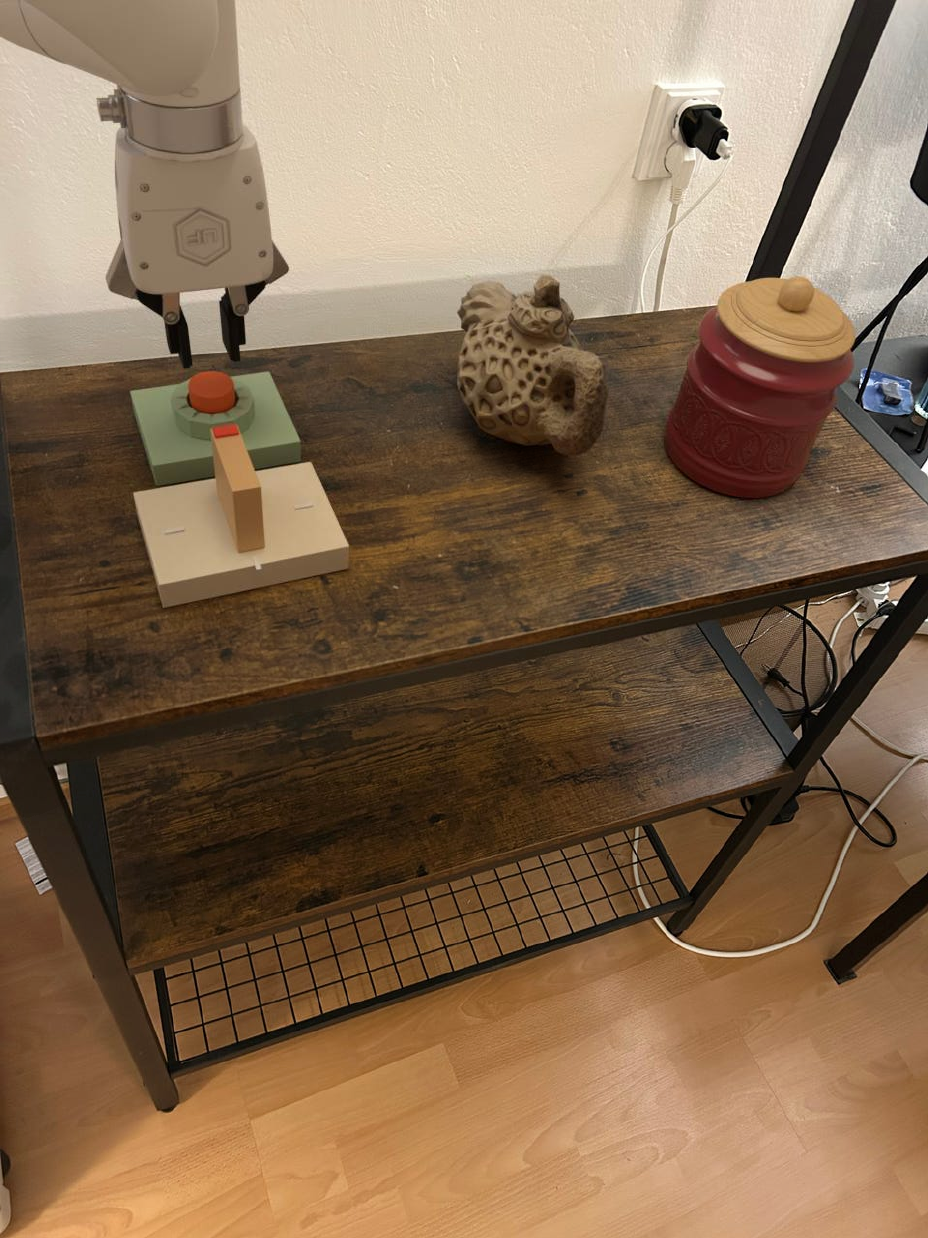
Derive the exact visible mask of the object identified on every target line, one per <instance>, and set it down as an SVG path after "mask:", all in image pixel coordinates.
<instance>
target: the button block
mask: <svg viewBox="0 0 928 1238" xmlns="http://www.w3.org/2000/svg"><path fill="white" fill-rule="evenodd" d="M229 377H230V378H231V379H232V380H233V383H234V393H235V404H234V406H233V407H232V408H231V409H230V410H228V411H227V412H225V413H218V414H205V413H200V412H198V411H196V410H195V409H194V408H193V407H192V405H191V403H190V395H189V387H188V384H189V381H190V379H191V378H192V377H191V378H189V379H186V380H185V381H183V382H181V383H177V384H176V383H175V384H169V385H163V386H161V385H160V386H156V387H148V388H141V389H134V390H130V391H129V393H130V398H131V404H132V409H133V415H134V417H135V421H136V423H137V427H138V430H139V434H140V437H141V440H142V444H143V447H144V450H145V454H146V457H147V462H148V464H149V467H150V470H151V474H152V477H153V479H154V480H153V481H154V484H155V486H156V487H162V486H167V485H171V484H177V483H178V484H179V483H185V482H189V481H197V480H201V479H202V480H203V479H209V478H215V470H214V461H213V451H212V442H211V433H210V429H212V428H213V427H219V426H226V425H232V424H236V425H238V428H239V431H240V433H241V436H242V438H243V441H244V444H245V446H246V449H247V451H248V454H249V457H250V459H251V462H252V465H253V467H254V470H260V469H264V468H271V467H276V466H282V465H288V464H296V463H301V462H302V444H301V443H302V441H301V439H300V436H299V434H298V432H297V430H296V428H295V426H294V423H293V421H292V419H291V417H290V415H289V412H288V411H287V408H286V406H285V403H284V402H283V399H282V397H281V395H280V392H279V390H278V388H277V386H276V383H275V381H274V379H273V377H272V374H271V372H270V371H261V372H255V373H247V374H241V375H233V376H229Z"/></svg>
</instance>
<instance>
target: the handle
mask: <svg viewBox="0 0 928 1238" xmlns="http://www.w3.org/2000/svg"><path fill="white" fill-rule="evenodd" d="M210 433H211V442H212V451H213V461H214V470H215V476H214V478H215V479H216V488H217V492H218V495H219V498H220V501H221V504H222V507H223V510H224V513H225V516H226V519H227V522H228V525H229V528H230V531H231V533H232V536H233V539H234V542H235V545H236V548H237V551H238V552H244V551H249V550H254V549H259V548H264V547H265V542H264V526H263V510H262V495H261V485H260V483H259V480H258V478H257V475H256V472H255V471H256V469H254V467H253V465H252V462H251V459H250V457H249V454H248V451H247V449H246V446H245V444H244V441H243V438H242V436H241V433H240V431H239V428H238V425H236V424H232V425H226V426H219V427H213V428H212V429H210Z"/></svg>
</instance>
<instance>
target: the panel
mask: <svg viewBox="0 0 928 1238" xmlns="http://www.w3.org/2000/svg"><path fill="white" fill-rule="evenodd" d="M255 472H256V475H257V478H258V480H259V483H260V485H261V495H262V510H263V526H264V542H265V547H264V548H259V549H254V550H249V551H244V552H238V551H237V548H236V545H235V542H234V539H233V536H232V533H231V531H230V528H229V525H228V522H227V519H226V516H225V513H224V510H223V507H222V504H221V501H220V498H219V495H218V492H217V488H216V479H215V477H213V478H208V479H204V480H203V479H202V480H198V481H197V480H196V481H191V482H187V483H181V484H174V485H169V486H163V487H157V488H152V489H147V490H139V491H134V492H133V493H132V494H133V499H134V500H133V501H134V505H135V510H136V515H137V519H138V522H139V527H140V530H141V533H142V537H143V541H144V544H145V549H146V551H147V555H148V558H149V562H150V566H151V569H152V573H153V576H154V581H155V584H156V587H157V591H158V595H159V598H160V603H161V605H162V608H163V609H165V608H170V607H174V606H175V607H176V606H179V605H185V604H188V603H193V602H197V601H198V602H199V601H203V600H207V599H208V600H209V599H212V598H217V597H221V596H226V595H230V594H231V595H232V594H235V593H240V592H246V591H251V590H255V589H259V588H260V589H261V588H264V587H267V586H273V585H277V584H283V583H287V582H292V581H297V580H301V579H306V578H311V577H316V576H320V575H324V574H329V573H335V572H338V571H344V570H348V569H349V566H350V564H349V562H350V545H349V542H348V540H347V538H346V536H345V534H344V532H343V531H344V530H342V527H341V525H340V522H339V520H338V518H337V516H336V514H335V511H334V510H333V507H332V505H331V503H330V501H329V499H328V495H327V494H326V492H325V489H324V487H323V485H322V483H321V481H320V478H319V476H318V474H317V471H316V469H315V468H314V465H313V463H312V461H307V462H300V463H294V464H290V465H284V466H278V467H273V468H267V469H261V470H255Z"/></svg>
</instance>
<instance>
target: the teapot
mask: <svg viewBox="0 0 928 1238" xmlns="http://www.w3.org/2000/svg"><path fill="white" fill-rule="evenodd" d="M560 285H561V284H560V282H559V281H557V280H556V279H555V278H554V277H552V276H551V275H549V274H541V275H540V276H539V277H538V278H537V279H536V282H535V284H534V285H533V291H531V290H529V291H524V292H519V293H518V294H517V295H516V294H515V293H514V292H512V291H510V290H508V289H506V288H505V286H504V284H503V283H502V282H498V281H495V280H494V281H493V280H487V281H483V282H478V283H475V284H473V285H471V287H470V289H469V290H468V291H466V295H464V296H463V297H461V300H460V301H461V304H460V307H459V308H458V309H457V311H456V313H457V315H458V318H459V319H460V321H461V323H460V329H461V330H463V331H465V332H466V333H465V335H464V337H463V340H462V344H461V348H460V351H459V354H458V363H457V375H456V377H457V378H456V385H457V389H458V393H459V395H460V398H461V400H462V402H463V404H464V405H465V407H466V408H467V410H468V411H469V413H470V414H471V416H472V417H473V419H474V420H475V422H476V424H477V425H478V428H479V429H480V430H482V431H484V432H485V433H487V434H489V435H491V436H494V437H496V438H500V439H502V440H504V441H506V442H508V443H515V444H518V445H521V446H525V447H530V446H535V445H536V446H537V445H538V446H545V445H550V444H551V445H552V447H553V448H554V450H555V451H556V452H558V453H559V454H561V455H566V456H578V455H583V454H586V453H587V452H589V450H590V449H591V448H593V446H594V445H595V444H596V442H598V439H599V438H600V437H601V435H602V432H603V428H604V425H605V414H606V406H607V401H608V396H609V387H608V384H607V381H606V369H607V368H606V365H605V364H604V363H603V362H602V360H601V357H600V356H599V355H598V354H596V353H593V352H592V351H587V350H586V351H585V350H584V349H583V347H582V345H581V344H580V342H579V339H577V337H576V336H575V334H574V333H573V332H572V330H571V329H570V326H571V324H572V322H573V321H574V319H575V315H574V312H573V311H572V308H571V307H570V305H569V304H568V302H567V301H566V300H565V299H564V298H563V297H561V296H560Z"/></svg>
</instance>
